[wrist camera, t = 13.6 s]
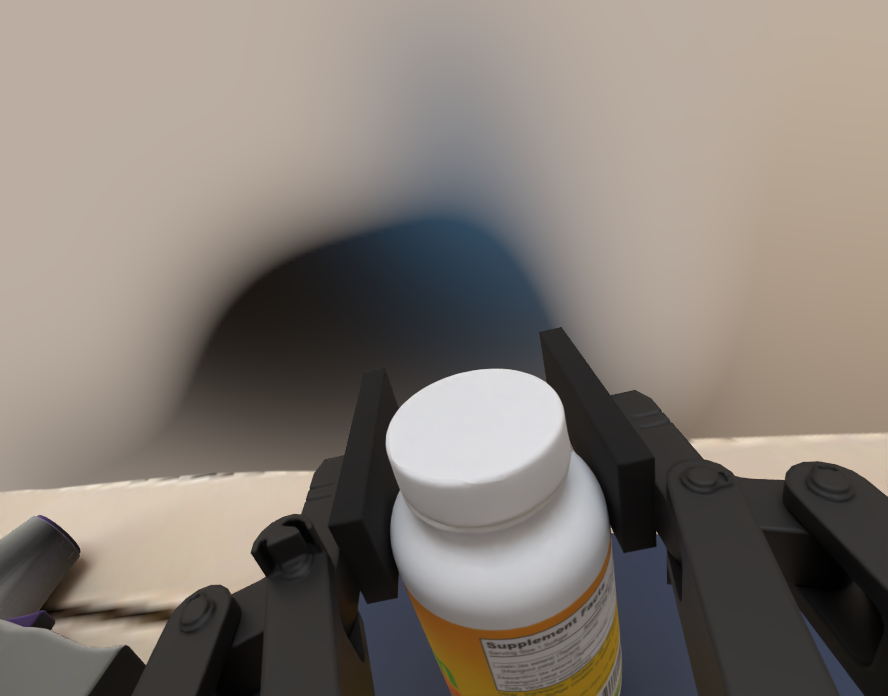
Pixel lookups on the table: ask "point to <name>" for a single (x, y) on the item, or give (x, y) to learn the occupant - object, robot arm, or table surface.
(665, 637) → the book
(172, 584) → the table surface
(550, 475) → the supplement bottle
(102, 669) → the infrared thermometer
